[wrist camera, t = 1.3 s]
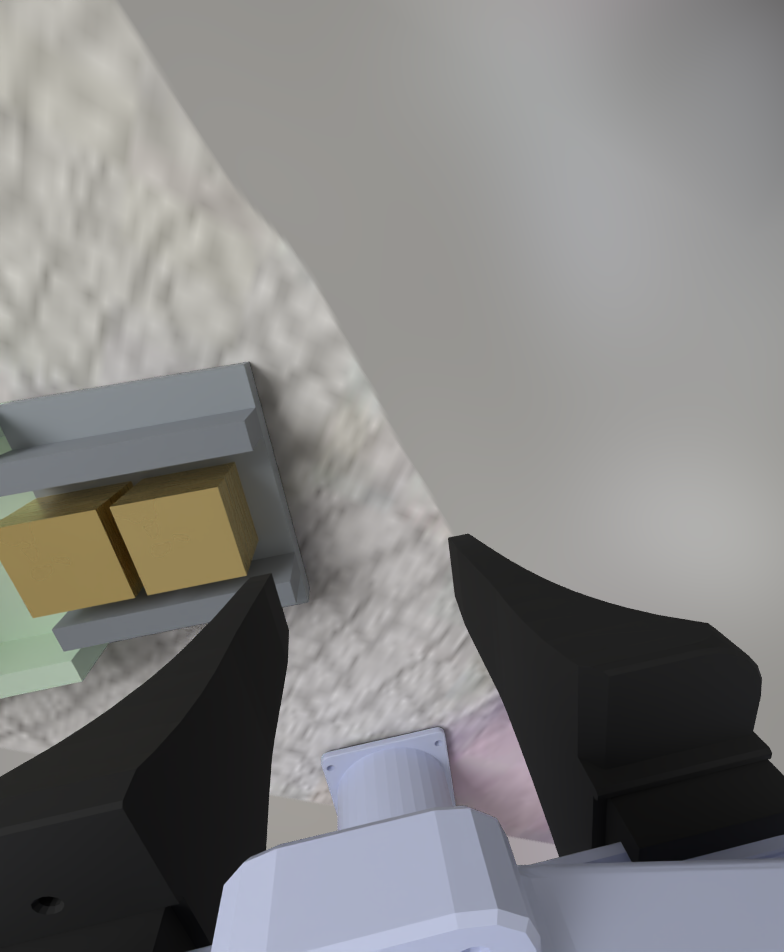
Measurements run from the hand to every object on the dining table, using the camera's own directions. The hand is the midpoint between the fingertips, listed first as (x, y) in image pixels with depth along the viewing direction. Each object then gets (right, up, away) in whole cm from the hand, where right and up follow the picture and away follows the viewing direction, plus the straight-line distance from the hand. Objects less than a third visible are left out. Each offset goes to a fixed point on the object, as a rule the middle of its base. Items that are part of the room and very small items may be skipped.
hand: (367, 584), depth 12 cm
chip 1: (-12, +1, +7) cm, 14 cm away
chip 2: (-8, +2, +7) cm, 11 cm away
